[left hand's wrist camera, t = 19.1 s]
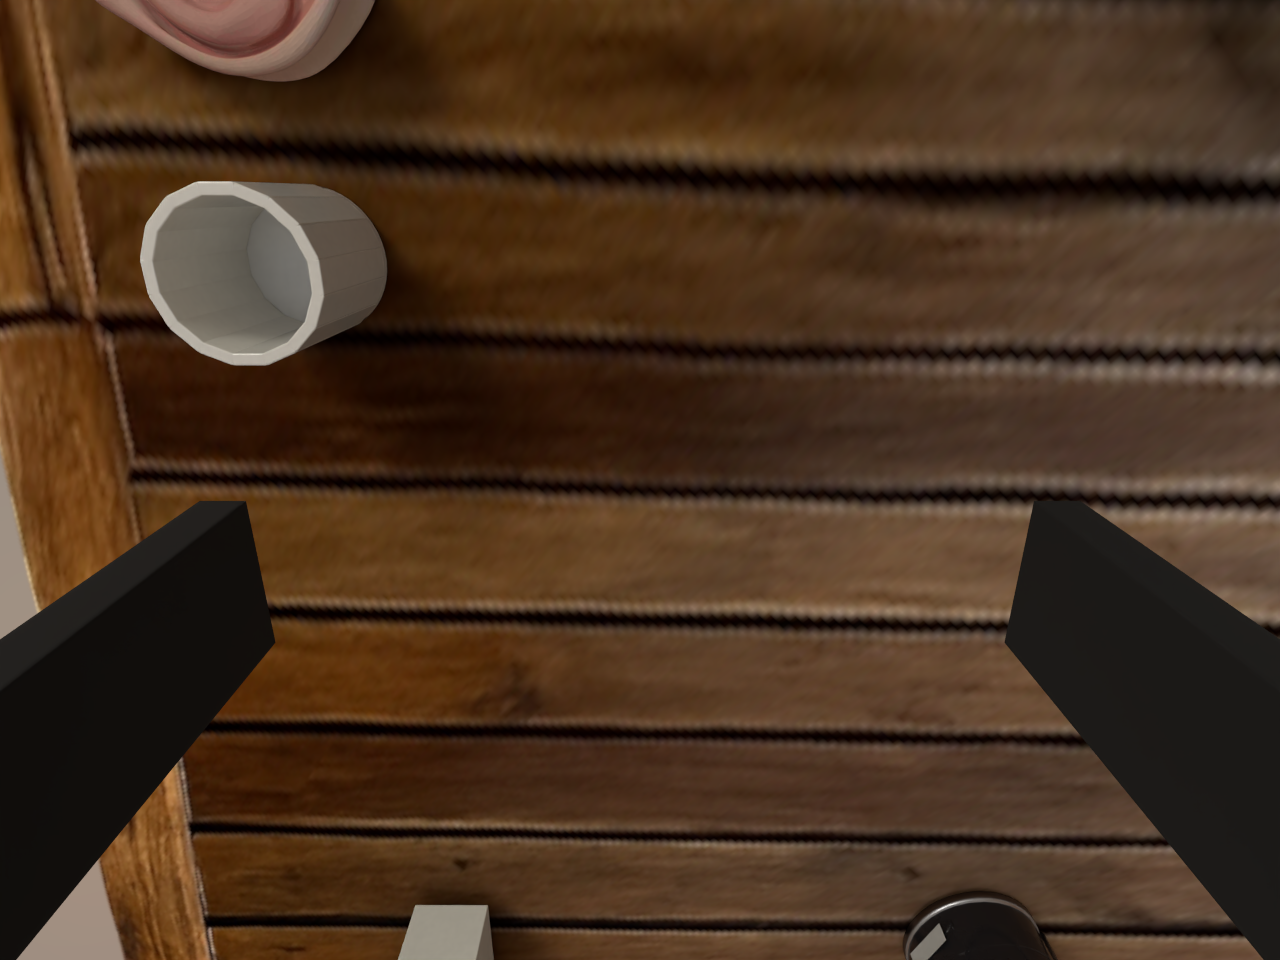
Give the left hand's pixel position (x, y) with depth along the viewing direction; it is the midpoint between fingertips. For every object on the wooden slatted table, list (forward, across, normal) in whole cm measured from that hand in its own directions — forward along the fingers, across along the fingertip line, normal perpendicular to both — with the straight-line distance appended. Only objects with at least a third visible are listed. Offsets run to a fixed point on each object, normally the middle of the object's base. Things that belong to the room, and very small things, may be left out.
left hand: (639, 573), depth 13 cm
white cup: (+27, +16, -3) cm, 31 cm away
